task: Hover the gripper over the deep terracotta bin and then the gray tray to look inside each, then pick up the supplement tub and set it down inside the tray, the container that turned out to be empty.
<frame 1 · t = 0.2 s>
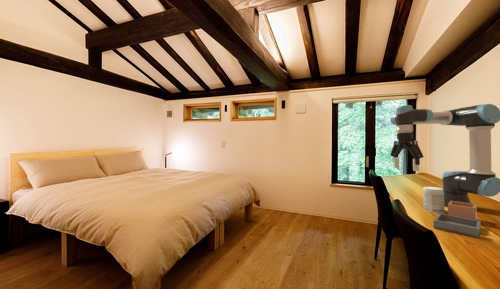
hand: (405, 169, 116), 28 cm above the table, fingers open, 13 cm apart
gray tray: (457, 228, 100), on the table
supplement tub: (433, 212, 124), on the table
terracotta bin: (462, 220, 109), on the table
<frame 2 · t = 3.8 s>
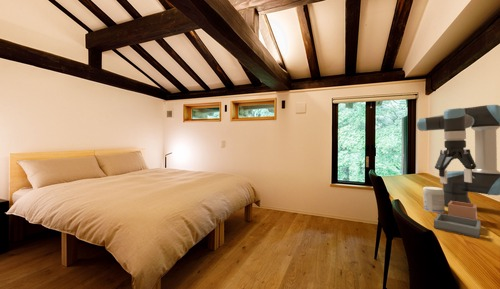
hand: (455, 182, 100), 23 cm above the table, fingers open, 13 cm apart
nothing on the table moved.
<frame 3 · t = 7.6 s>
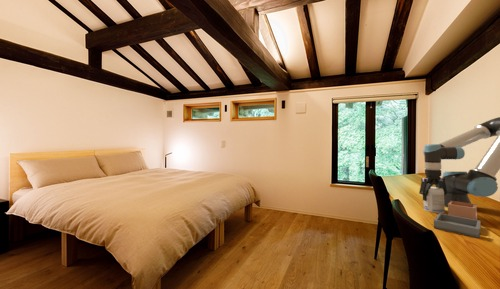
hand: (433, 205, 124), 4 cm above the table, fingers closed on supplement tub, 9 cm apart
supplement tub: (433, 212, 124), on the table, touching gripper
everything else where it was.
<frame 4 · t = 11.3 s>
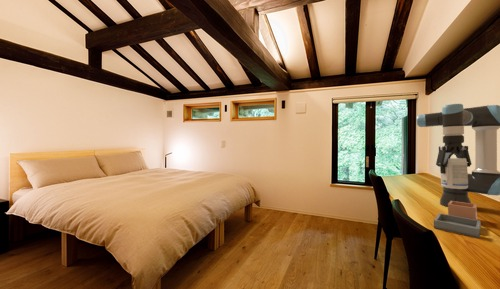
hand: (454, 179, 101), 24 cm above the table, fingers closed on supplement tub, 9 cm apart
supplement tub: (453, 187, 101), point 20 cm above the table, touching gripper
everything else where it was.
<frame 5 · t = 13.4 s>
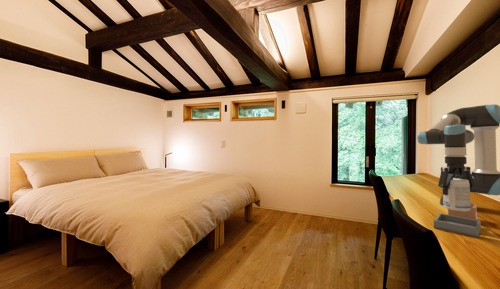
hand: (456, 201, 100), 14 cm above the table, fingers closed on supplement tub, 9 cm apart
supplement tub: (456, 209, 100), point 10 cm above the table, touching gripper
everything else where it was.
when the fingers open (6 cm above the table, at t = 15.3 s): supplement tub drops 1 cm, resting on gray tray.
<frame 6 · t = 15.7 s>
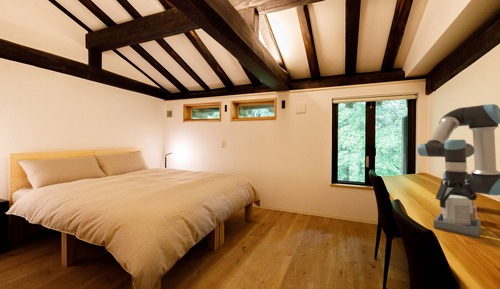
hand: (456, 213, 100), 7 cm above the table, fingers open, 13 cm apart
supplement tub: (456, 226, 100), point 1 cm above the table, touching gray tray
everything else where it was.
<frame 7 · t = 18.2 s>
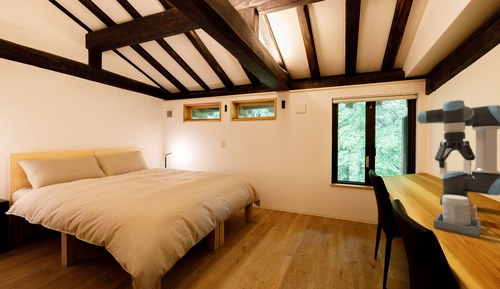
hand: (455, 173, 101), 27 cm above the table, fingers open, 13 cm apart
nothing on the table moved.
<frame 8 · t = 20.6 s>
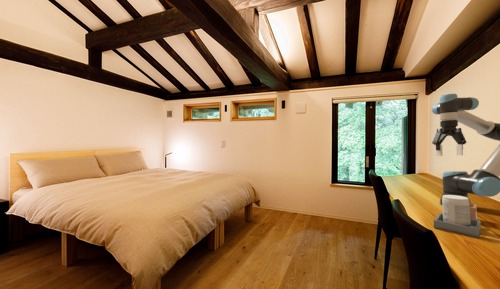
hand: (449, 155, 121), 35 cm above the table, fingers open, 13 cm apart
nothing on the table moved.
at the end: supplement tub 0.3 cm off-centre on the gray tray, point 0.8 cm above the gray tray's base; supplement tub tilted 0°; the gripper is holding nothing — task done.
